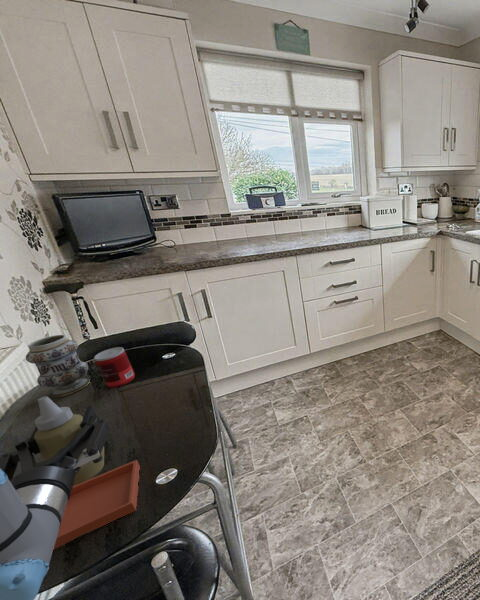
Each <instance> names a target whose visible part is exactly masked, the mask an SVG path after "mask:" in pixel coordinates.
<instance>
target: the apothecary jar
mask: <svg viewBox="0 0 480 600" xmlns="http://www.w3.org/2000/svg"><path fill="white" fill-rule="evenodd" d="M27 346H28V349H29V351H28V352H27V353H26V354H25V360H26V361H27V362H28V363H29V364H34V365H35V368H36V369H37V371H38V373H39V375H38V377H37V379H36V382H37V385H38V386H40V387H43V388H55V389H53V391H51V393H50V397H52V398H62V397H66V396H69V395H72V394H75V393H77V392H79V391H81V390H83V389H85V388H86V387H87V386H89V385H90V384H91V382H90V380H91V379H90V378H87V377H86V378H82V377H84V376H85V375H86V374H87V372H88V371H89V365H88V363H87V362H86V361H85V362H84V361H81V359H80V357H79V356H78V353H77V349H78V347H79V345H78V342H76V340H73V339H70V338H68V337H67V336H66V334H56V335H50V336H46V337H43V338H40V339H37V340H35V341H32V342H31V343H29V344H28V345H27ZM89 383H90V384H89ZM88 384H89V385H88ZM84 387H85V388H84ZM74 392H75V393H74Z"/></svg>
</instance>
